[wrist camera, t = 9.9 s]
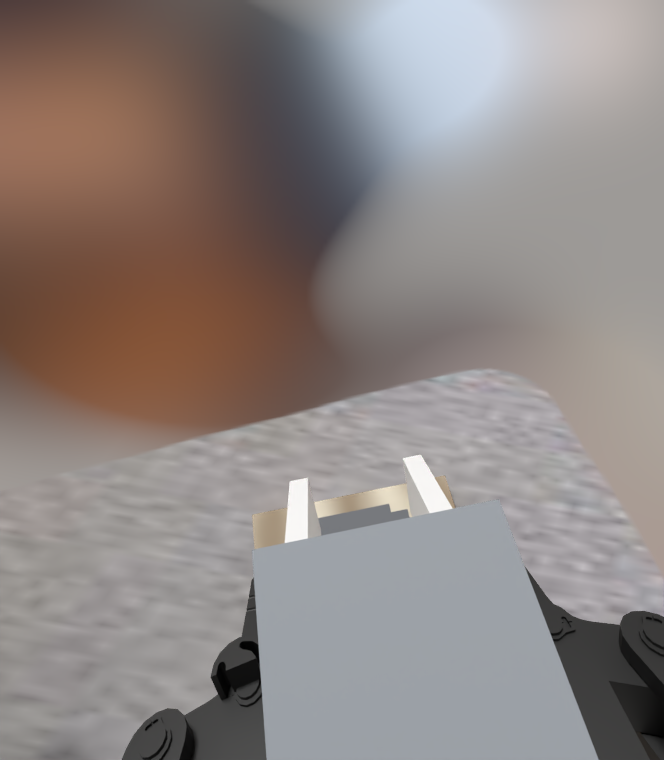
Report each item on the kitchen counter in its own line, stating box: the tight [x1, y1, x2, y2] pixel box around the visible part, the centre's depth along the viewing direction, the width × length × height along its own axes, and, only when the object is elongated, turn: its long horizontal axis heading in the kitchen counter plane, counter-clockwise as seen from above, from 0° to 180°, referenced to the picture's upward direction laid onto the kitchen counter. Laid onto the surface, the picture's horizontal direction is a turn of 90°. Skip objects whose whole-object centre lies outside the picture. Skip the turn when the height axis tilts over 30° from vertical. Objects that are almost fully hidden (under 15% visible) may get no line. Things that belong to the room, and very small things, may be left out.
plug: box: [252, 499, 599, 760], centre depth 11 cm, size 4×4×13 cm
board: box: [252, 476, 455, 549], centre depth 25 cm, size 16×20×1 cm
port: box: [318, 504, 410, 536], centre depth 25 cm, size 10×8×2 cm
